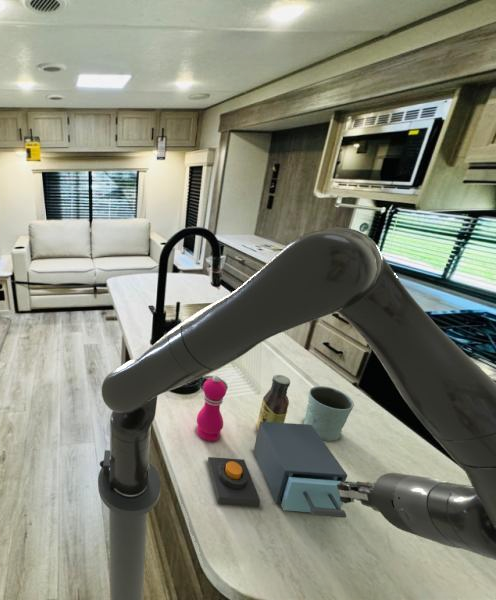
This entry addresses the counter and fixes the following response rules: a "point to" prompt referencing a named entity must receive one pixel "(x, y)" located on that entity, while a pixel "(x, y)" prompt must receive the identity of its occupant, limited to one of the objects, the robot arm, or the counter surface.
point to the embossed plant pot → (328, 411)
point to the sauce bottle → (275, 401)
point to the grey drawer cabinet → (292, 454)
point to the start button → (233, 470)
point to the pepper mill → (211, 410)
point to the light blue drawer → (312, 495)
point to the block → (232, 484)
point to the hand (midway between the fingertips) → (345, 487)
